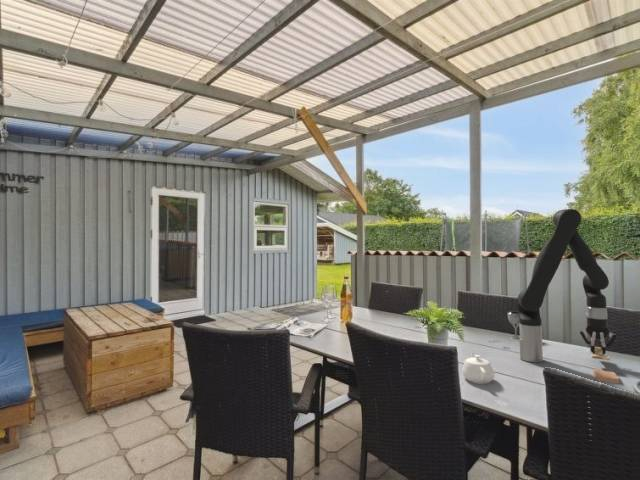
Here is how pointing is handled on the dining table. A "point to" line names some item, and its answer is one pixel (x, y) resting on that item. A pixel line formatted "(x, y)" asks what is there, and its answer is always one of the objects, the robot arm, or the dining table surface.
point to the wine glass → (514, 322)
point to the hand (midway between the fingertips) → (598, 353)
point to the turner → (599, 354)
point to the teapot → (478, 370)
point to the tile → (606, 376)
